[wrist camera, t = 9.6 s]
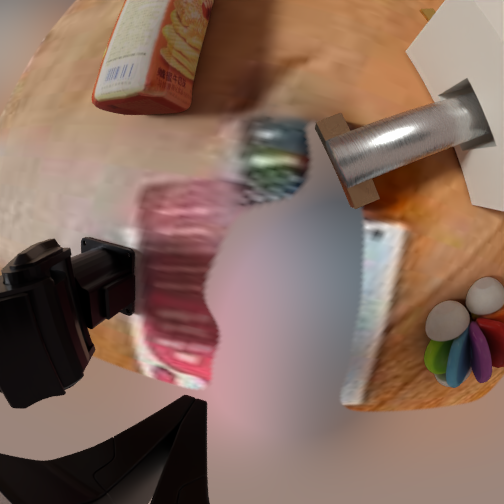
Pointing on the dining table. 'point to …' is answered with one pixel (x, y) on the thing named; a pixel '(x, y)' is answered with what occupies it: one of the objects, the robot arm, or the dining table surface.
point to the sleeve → (469, 83)
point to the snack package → (152, 57)
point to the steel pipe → (397, 140)
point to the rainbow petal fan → (467, 335)
